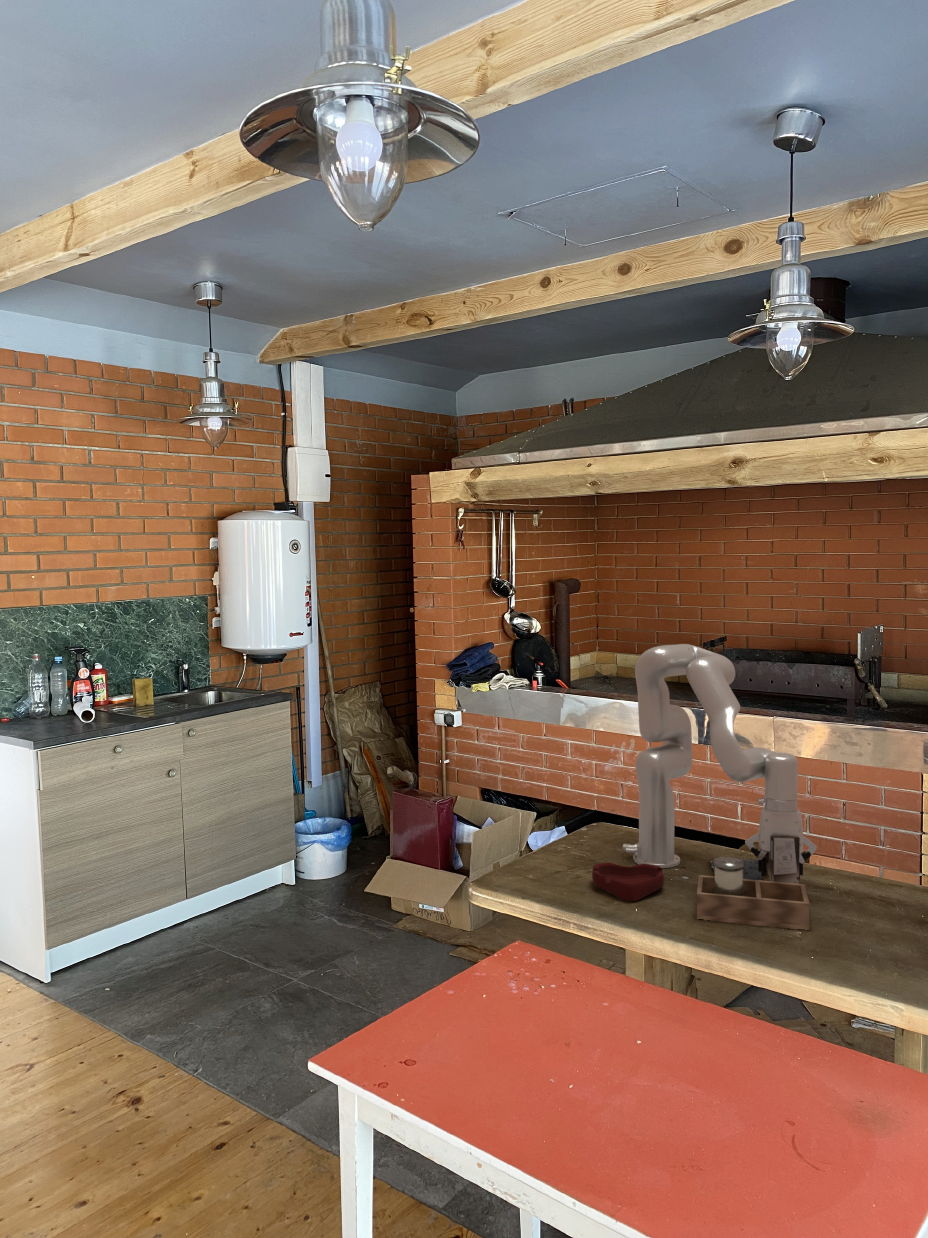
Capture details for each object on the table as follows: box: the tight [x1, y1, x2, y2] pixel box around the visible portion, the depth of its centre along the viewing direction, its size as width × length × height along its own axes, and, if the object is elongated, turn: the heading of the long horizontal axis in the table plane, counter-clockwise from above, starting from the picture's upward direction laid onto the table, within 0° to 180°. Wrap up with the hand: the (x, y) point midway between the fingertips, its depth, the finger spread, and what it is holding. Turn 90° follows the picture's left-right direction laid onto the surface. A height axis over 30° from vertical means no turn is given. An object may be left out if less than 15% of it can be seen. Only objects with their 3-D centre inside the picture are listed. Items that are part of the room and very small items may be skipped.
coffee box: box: [761, 836, 800, 884], centre depth 214 cm, size 9×6×16 cm
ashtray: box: [591, 862, 665, 902], centre depth 219 cm, size 18×16×5 cm
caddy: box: [696, 874, 810, 931], centre depth 204 cm, size 24×13×6 cm, turn 73°
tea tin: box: [713, 856, 745, 896], centre depth 205 cm, size 7×7×11 cm
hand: (780, 876), depth 214 cm, fingers closed on coffee box, 7 cm apart
